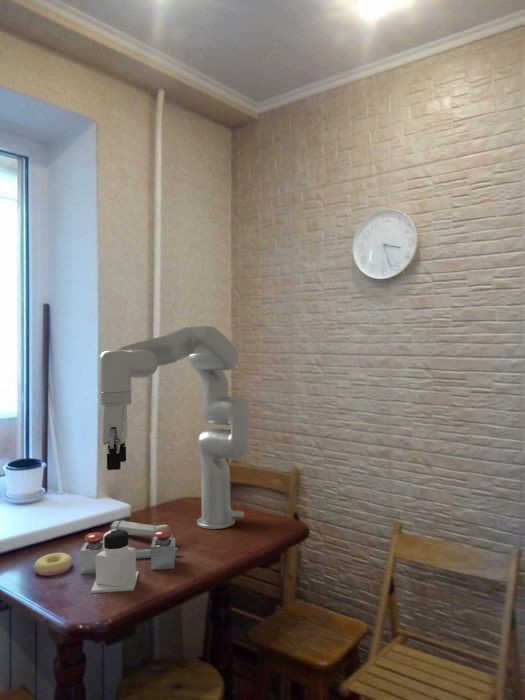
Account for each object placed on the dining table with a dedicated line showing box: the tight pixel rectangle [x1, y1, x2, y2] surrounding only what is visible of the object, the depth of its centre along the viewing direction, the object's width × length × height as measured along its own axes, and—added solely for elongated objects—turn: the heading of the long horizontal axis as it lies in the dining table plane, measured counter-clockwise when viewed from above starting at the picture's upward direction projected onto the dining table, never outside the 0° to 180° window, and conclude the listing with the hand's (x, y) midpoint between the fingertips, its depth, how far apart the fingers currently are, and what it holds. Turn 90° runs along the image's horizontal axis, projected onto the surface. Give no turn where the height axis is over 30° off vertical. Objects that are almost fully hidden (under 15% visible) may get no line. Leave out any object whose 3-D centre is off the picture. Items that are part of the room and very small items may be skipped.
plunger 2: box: [153, 528, 173, 545], centre depth 144 cm, size 5×5×8 cm
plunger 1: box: [84, 531, 104, 549], centre depth 142 cm, size 5×5×8 cm
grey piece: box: [109, 519, 174, 540], centre depth 164 cm, size 5×7×25 cm
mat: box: [90, 570, 139, 594], centre depth 133 cm, size 10×10×1 cm
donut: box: [33, 552, 73, 577], centre depth 142 cm, size 10×5×9 cm
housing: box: [79, 537, 179, 575], centre depth 145 cm, size 25×10×6 cm, turn 97°
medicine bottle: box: [95, 529, 137, 587], centre depth 133 cm, size 7×7×12 cm
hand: (117, 465), depth 137 cm, fingers open, 9 cm apart
